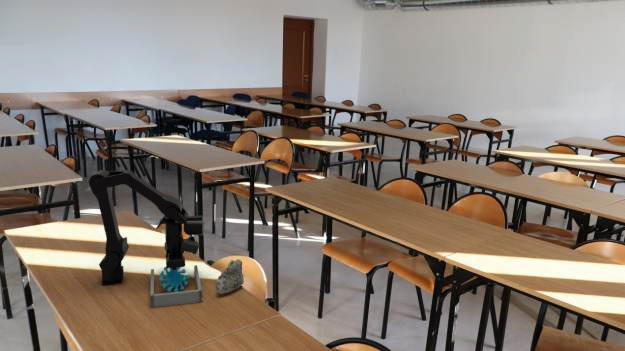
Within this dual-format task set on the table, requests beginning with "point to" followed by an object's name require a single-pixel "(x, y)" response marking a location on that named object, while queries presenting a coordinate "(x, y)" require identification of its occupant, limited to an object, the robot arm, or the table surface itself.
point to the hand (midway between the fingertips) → (175, 275)
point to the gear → (174, 278)
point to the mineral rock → (230, 277)
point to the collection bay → (176, 294)
